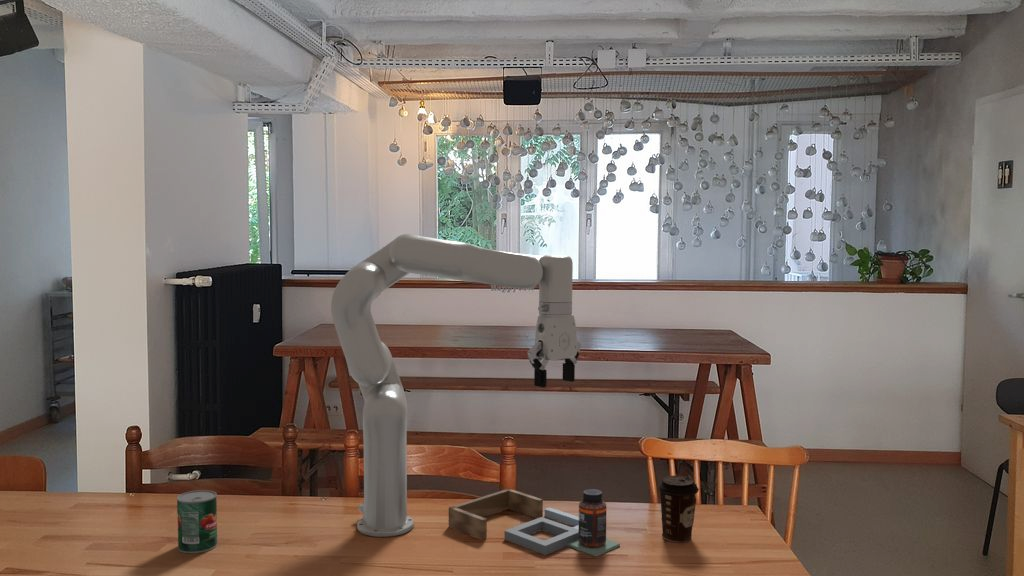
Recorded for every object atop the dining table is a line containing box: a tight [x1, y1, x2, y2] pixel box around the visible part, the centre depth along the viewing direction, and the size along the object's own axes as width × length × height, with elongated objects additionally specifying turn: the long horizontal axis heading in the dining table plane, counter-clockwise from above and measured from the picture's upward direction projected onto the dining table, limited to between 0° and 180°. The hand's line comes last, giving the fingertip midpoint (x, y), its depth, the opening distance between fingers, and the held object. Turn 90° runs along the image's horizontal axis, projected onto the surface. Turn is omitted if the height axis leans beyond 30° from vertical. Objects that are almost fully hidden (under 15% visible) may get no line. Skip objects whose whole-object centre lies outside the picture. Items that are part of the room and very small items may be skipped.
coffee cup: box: [658, 475, 700, 543], centre depth 182 cm, size 9×8×13 cm
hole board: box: [503, 516, 579, 556], centre depth 181 cm, size 12×12×2 cm
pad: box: [566, 538, 621, 558], centre depth 178 cm, size 8×8×1 cm
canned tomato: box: [176, 489, 218, 554], centre depth 175 cm, size 8×8×11 cm
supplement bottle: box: [578, 488, 607, 547], centre depth 177 cm, size 6×6×11 cm
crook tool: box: [544, 506, 579, 530], centre depth 189 cm, size 14×7×2 cm, turn 46°
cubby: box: [448, 488, 544, 541], centre depth 191 cm, size 11×19×4 cm, turn 136°
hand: (554, 383), depth 190 cm, fingers open, 9 cm apart
